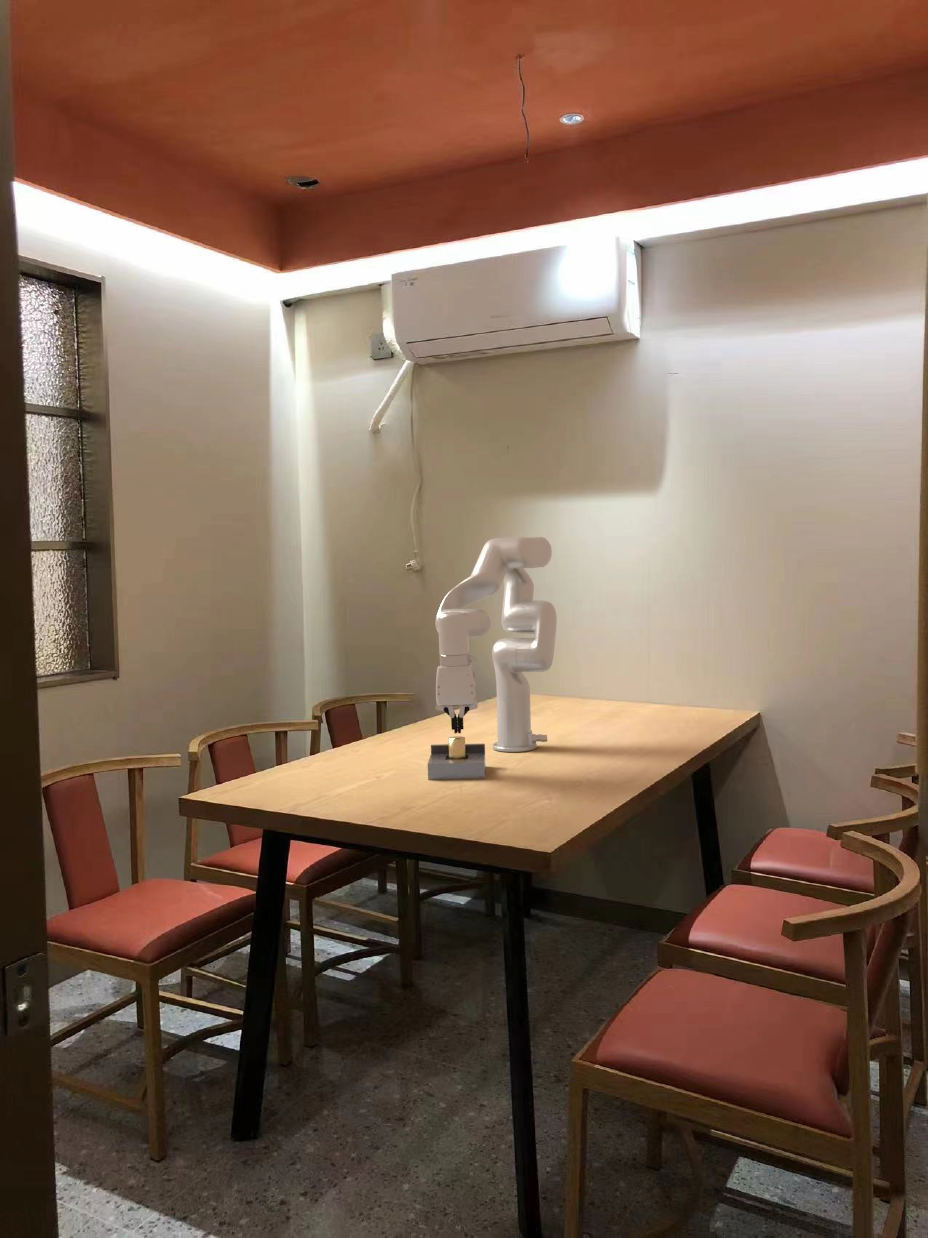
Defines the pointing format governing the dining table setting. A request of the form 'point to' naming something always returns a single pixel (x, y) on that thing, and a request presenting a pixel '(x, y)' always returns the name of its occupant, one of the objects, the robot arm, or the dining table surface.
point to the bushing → (457, 748)
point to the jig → (457, 763)
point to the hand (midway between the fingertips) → (457, 732)
